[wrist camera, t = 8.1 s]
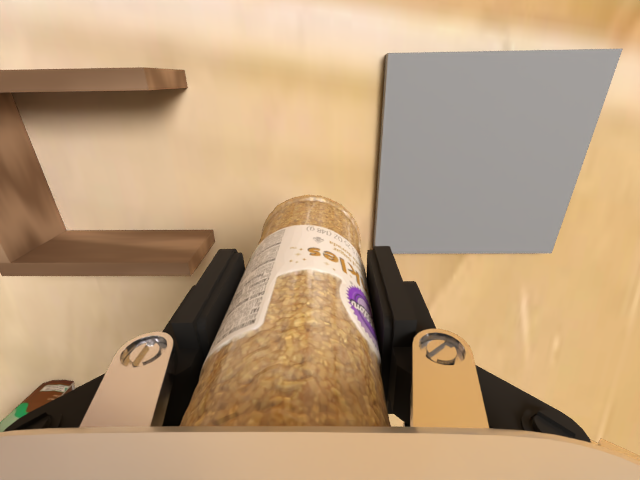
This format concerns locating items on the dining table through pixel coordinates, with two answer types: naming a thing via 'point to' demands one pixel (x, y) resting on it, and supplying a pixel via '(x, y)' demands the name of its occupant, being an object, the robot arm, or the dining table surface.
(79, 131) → the dining table surface
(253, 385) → the spice jar
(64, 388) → the food container
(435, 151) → the slate mat
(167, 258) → the shelf box
